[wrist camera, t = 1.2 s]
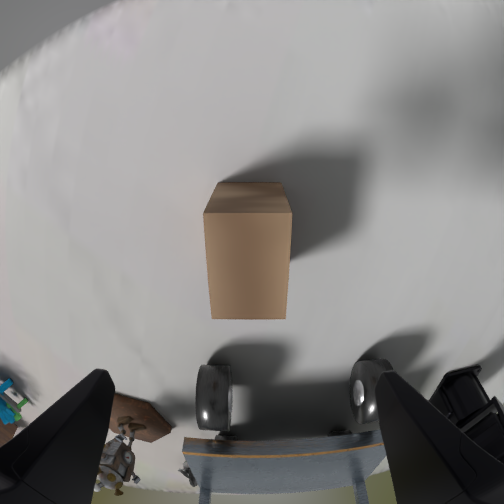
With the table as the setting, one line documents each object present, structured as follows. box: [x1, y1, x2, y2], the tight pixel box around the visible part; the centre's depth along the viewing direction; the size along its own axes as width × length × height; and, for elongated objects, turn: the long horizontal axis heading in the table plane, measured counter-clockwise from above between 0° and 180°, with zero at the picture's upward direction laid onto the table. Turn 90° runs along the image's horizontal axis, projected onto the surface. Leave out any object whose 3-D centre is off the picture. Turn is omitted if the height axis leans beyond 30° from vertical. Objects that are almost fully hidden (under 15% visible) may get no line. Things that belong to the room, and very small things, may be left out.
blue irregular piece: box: [0, 378, 28, 425], centre depth 29 cm, size 11×6×10 cm
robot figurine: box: [94, 394, 172, 496], centre depth 26 cm, size 11×9×12 cm
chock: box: [203, 182, 292, 319], centre depth 18 cm, size 4×6×6 cm, turn 0°
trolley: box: [182, 359, 393, 504], centre depth 24 cm, size 20×20×12 cm
